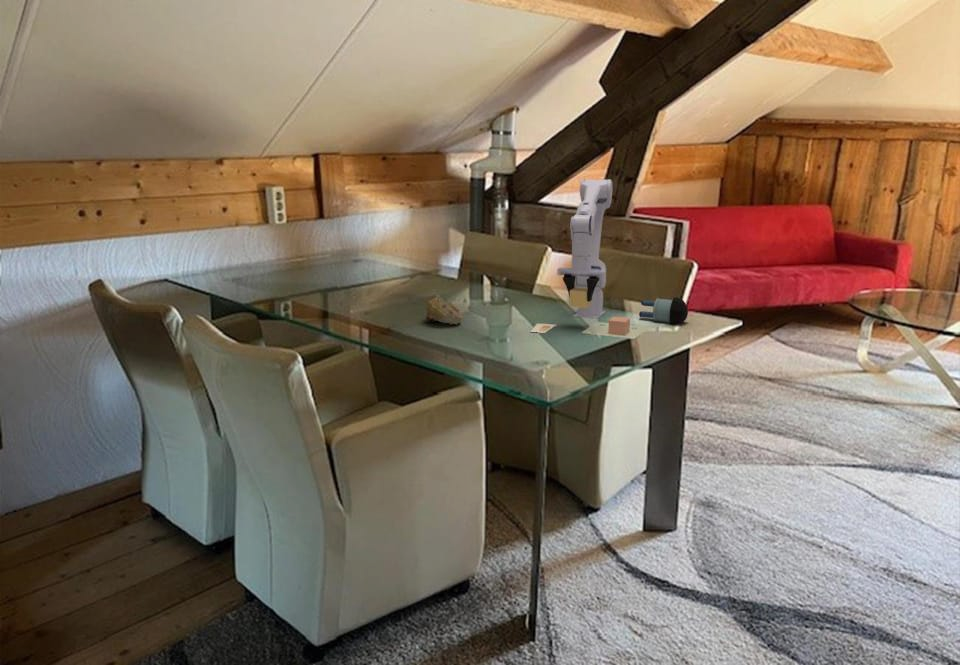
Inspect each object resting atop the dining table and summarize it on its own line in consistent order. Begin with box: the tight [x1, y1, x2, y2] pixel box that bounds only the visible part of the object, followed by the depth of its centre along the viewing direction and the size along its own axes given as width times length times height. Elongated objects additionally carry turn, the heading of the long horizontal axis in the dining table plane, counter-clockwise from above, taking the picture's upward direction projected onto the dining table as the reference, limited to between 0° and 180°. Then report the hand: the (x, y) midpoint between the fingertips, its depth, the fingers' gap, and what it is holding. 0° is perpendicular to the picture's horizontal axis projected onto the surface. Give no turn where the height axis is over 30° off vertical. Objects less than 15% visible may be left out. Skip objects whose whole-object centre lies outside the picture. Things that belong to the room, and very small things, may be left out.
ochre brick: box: [569, 286, 591, 309], centre depth 222 cm, size 5×5×5 cm
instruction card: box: [529, 323, 557, 334], centre depth 225 cm, size 10×7×1 cm
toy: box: [638, 296, 689, 325], centre depth 229 cm, size 8×9×15 cm
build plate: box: [581, 321, 648, 340], centre depth 221 cm, size 14×16×1 cm
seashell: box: [425, 293, 464, 325], centre depth 232 cm, size 11×14×10 cm
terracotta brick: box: [608, 316, 631, 335], centre depth 218 cm, size 5×5×4 cm
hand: (580, 299), depth 222 cm, fingers closed on ochre brick, 5 cm apart
